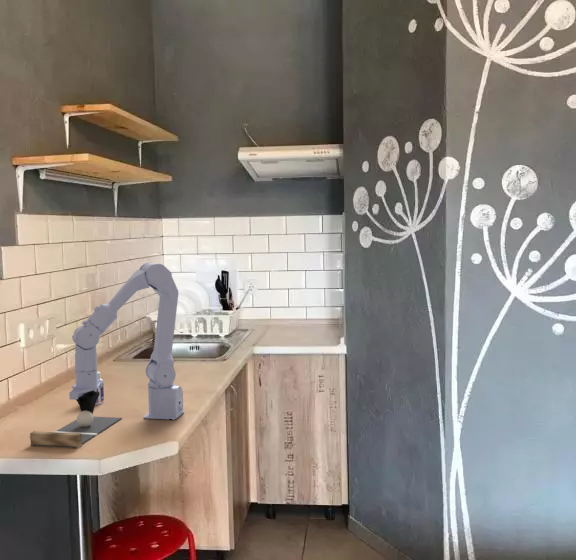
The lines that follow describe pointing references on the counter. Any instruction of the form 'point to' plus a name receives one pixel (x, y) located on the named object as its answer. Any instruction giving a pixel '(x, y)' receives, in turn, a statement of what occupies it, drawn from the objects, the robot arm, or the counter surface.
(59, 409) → the counter surface
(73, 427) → the lane
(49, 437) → the backstop rail
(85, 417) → the ball
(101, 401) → the pill bottle
